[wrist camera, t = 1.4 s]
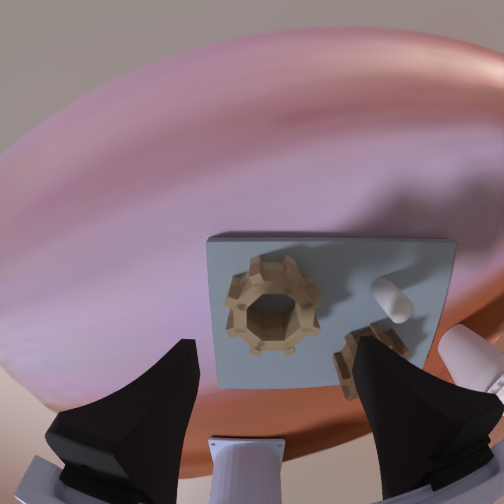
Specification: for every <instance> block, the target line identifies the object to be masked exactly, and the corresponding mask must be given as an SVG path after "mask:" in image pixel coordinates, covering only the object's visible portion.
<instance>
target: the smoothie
mask: <svg viewBox="0 0 504 504" xmlns="http://www.w3.org/2000/svg"><path fill="white" fill-rule="evenodd" d="M438 352H439V354H440V356H441V358H442V359H443V361H444V363H445V365H446V367H447V368H448V370H449V372H450V374H451V376H452V378H453V379H454V381H455V383H456V385H457V386H460V387H463V388H467V389H471V390H475V391H480V392H487V393H494V394H496V395H497V396H498V397H499V399H500V400H501V401H502V403H503V404H504V352H502V351H501V350H500V349H498V348H497V347H495V346H494V345H492V344H491V343H490V342H488V341H487V340H485V339H484V338H482V337H481V336H479V335H478V334H476V333H475V332H473V331H472V330H470V329H469V328H467V327H466V326H464V325H462V324H457V325H454V326H453V327H451V328H450V329H449V330H448V331H447V332H446V333H445V334H444V335H443V337H442V338H441V340H440V342H439V345H438ZM503 415H504V413H503ZM503 415H502V416H503Z"/></svg>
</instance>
